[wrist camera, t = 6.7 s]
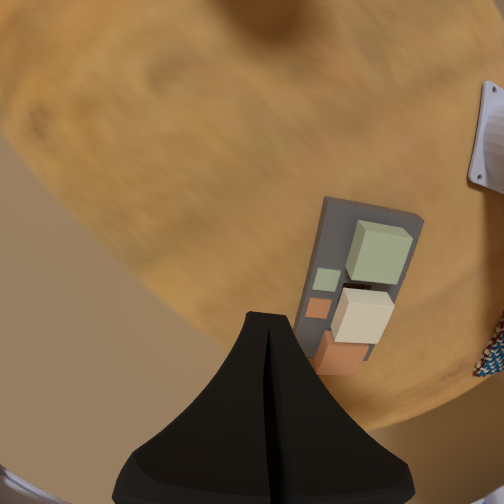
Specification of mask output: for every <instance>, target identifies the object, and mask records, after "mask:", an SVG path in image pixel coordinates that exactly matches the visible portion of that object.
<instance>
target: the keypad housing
mask: <svg viewBox="0 0 504 504" xmlns="http://www.w3.org/2000/svg"><path fill="white" fill-rule="evenodd" d="M358 220H361V221H367V222H373V223H378V224H384V225H389V226H395V227H400V228H403V229H404V230H405V231H406V232H407V233H408V234H409V235H410V236H411V237H412V238H413V240H412V243H411V246H410V249H409V252H408V255H407V258H406V261H405V264H404V266H403V269H402V272H401V274H400V277H399V280H398V282H397V285H396V284H386V283H377V282H368V281H359V280H351V278H350V276H349V274H348V271H347V269H346V267H345V266H346V262H347V259H348V255H349V252H350V248H351V245H352V241H353V237H354V233H355V230H356V226H357V222H358ZM423 223H424V220H423V219H422V218H421V217H420V216H418V215H417V214H414V213H409V212H404V211H400V210H395V209H390V208H385V207H380V206H375V205H370V204H365V203H360V202H354V201H349V200H343V199H337V198H331V197H326V196H324V201H323V206H322V211H321V215H320V220H319V225H318V229H317V234H316V238H315V243H314V247H313V252H312V256H311V260H310V264H309V268H308V273H307V277H306V281H305V285H304V289H303V293H302V297H301V301H300V305H299V308H298V312H297V316H296V320H295V324H294V327H293V332H294V334H295V337H296V339H297V341H298V343H299V345H300V346H301V348H302V350H303V352H304V354H305V356H306V357H307V358H309V359H314V358H315V356H316V353H317V350H318V348H319V345H320V342H321V339H322V337H323V334H324V331H325V330H331V323H332V320H333V318H334V315H335V312H336V309H337V306H338V303H339V300H340V299H339V296H340V293H341V289H342V286H343V283H352V284H362V285H364V288H363V290H370V291H380V292H387V293H388V295H389V297H390V298H391V300H392V302H393V304H394V302H395V300H396V297H397V295H398V292H399V290H400V287H401V285H402V282H403V280H404V277H405V275H406V272H407V269H408V267H409V264H410V261H411V259H412V256H413V253H414V250H415V247H416V244H417V241H418V238H419V235H420V232H421V229H422V226H423ZM368 345H369V349H368V351H367V353H366V355H365V357H364V359H363V361H367V360H368V358H369V356H370V354H371V352H372V350H373V348H374V346H375V344H370V343H368Z"/></svg>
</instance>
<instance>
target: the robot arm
mask: <svg viewBox="0 0 504 504" xmlns="http://www.w3.org/2000/svg"><path fill="white" fill-rule="evenodd" d="M492 88H493V89H494V92H493V90H492ZM478 175H479V179H477V177H478ZM468 178H469V180H470V181H471V182H474V183H476V184H479V185H481V186H484V187H487V188H489V189H492V190H494V191H497V192H499V193H502V194H504V90H503V89H502V88H500V87H499V86H497V85H495V84H494V83H492V82H491V81H484V83H483V90H482V99H481V107H480V115H479V122H478V128H477V134H476V139H475V145H474V150H473V155H472V159H471V164H470V168H469V172H468ZM414 494H415V488H414V484H413V479H412V475H411V473H410V470H409V467H408V464H407V463H405V462H404V461H402V460H401V459H399V458H398V457H397V456H395V455H394V454H392V453H391V452H389V451H388V450H387V449H385V448H384V447H382V446H381V445H380V444H379V443H378V442H376V441H375V440H374V439H373V438H371V436H369V435H368V434H367V433H366V432H365V431H364V430H363V429H362V428H361V427H360V426H359V425H358V424H357V423H356V422H355V421H354V420H353V419H352V418H351V417H350V416H349V415H348V414H347V413H346V412H345V411H344V409H343V408H342V407H341V406H340V405H339V404H338V403H337V401H336V400H335V399H334V398H333V396H332V395H331V394H330V392H329V391H328V390H327V388H326V387H325V386H324V384H323V383H322V381H321V380H320V378H319V377H318V375H317V374H316V372H315V371H314V369H313V368H312V366H311V364H310V363H309V361H308V359H307V357H306V356H305V354H304V352H303V350H302V348H301V346H300V345H299V343H298V341H297V339H296V337H295V334H294V332H293V330H292V328H291V326H290V323H289V321H288V318H287V317H286V316H285V315H279V314H270V313H261V312H253V311H249V312H248V313H246V318H245V322H244V325H243V327H242V330H241V332H240V334H239V336H238V338H237V340H236V342H235V344H234V346H233V348H232V350H231V352H230V353H229V355H228V356H227V358H226V360H225V361H224V363H223V364H222V366H221V367H220V369H219V370H218V372H217V373H216V375H215V376H214V377H213V378H212V380H211V381H210V382H209V384H208V385H207V386H206V387H205V389H204V390H203V391H202V392H201V393H200V394H199V395H198V397H197V398H196V399H195V400H194V401H193V402H192V403H191V404H190V405H189V406H188V407H187V408H186V409H185V410H184V411H183V412H182V413H181V414H180V415H179V416H178V417H177V418H176V419H174V420H173V421H172V422H171V423H170V424H169V425H168V426H167V427H165V428H164V429H163V430H162V431H161V432H159V433H158V434H157V435H156V436H154V437H153V438H152V439H150V440H149V441H147V442H146V443H145V444H143V445H142V446H140V447H139V448H138V449H136V450H135V451H134V452H133V453H132V454H131V455H130V457H129V458H128V460H127V461H126V463H125V465H124V466H123V468H122V469H121V472H120V474H119V476H118V478H117V481H116V484H115V487H114V491H113V494H112V499H113V501H114V502H115V504H404V503H405V502H407V501H408V500H410V499H411V498H412V497H413V496H414ZM0 504H71V503H68V502H66V501H64V500H62V499H60V498H58V497H56V496H54V495H52V494H50V493H48V492H46V491H44V490H42V489H40V488H38V487H37V486H35V485H33V484H31V483H29V482H28V481H26V480H24V479H23V478H21V477H19V476H18V475H16V474H14V473H13V472H11V471H9V470H8V469H7V468H5V467H3V466H2V465H0ZM471 504H504V485H502V486H500V487H499V488H497V489H495V490H494V491H492V492H491V493H489V494H487V495H486V496H485V497H484V498H482V499H480V500H478V501H476V502H473V503H471Z"/></svg>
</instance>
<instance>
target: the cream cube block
mask: <svg viewBox="0 0 504 504" xmlns="http://www.w3.org/2000/svg"><path fill="white" fill-rule="evenodd" d="M394 307H395V306H394V304H393V302H392V300H391V298H390V297H389V295H388V293H387V292H380V291H370V290H360V289H351V288H343V291H342V294H341V297H340V300H339V303H338V306H337V309H336V312H335V315H334V318H333V320H332V323H331V330H332V334H333V338H334V342H347V343H370V344H378V342H379V340H380V338H381V336H382V334H383V331H384V329H385V327H386V325H387V323H388V321H389V318H390V316H391V314H392V312H393V309H394Z"/></svg>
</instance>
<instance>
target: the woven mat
mask: <svg viewBox="0 0 504 504" xmlns="http://www.w3.org/2000/svg"><path fill="white" fill-rule="evenodd" d="M501 321H503V324H501V325H498V326H497V327H496V331H497V332H496V333H494V334H493V337H494V338H495V340H490V341H488V343H487V344H486V345H491V346H489V347H488V348H486V349H485V350H484V354H483V355H482V356H481V358H484V359H483V360H481V361H478V362H477V364H476V368H474V369H473V371H476V373H475V374H474V375H475V376H477V377H480V376H483V377H485V376H486V375H488V374H489V373H490V374H493V372H494V373H495V372H497V371H498V372H501V370H504V317H503V318H501V320H500V322H501ZM483 365H484V366H483Z"/></svg>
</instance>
